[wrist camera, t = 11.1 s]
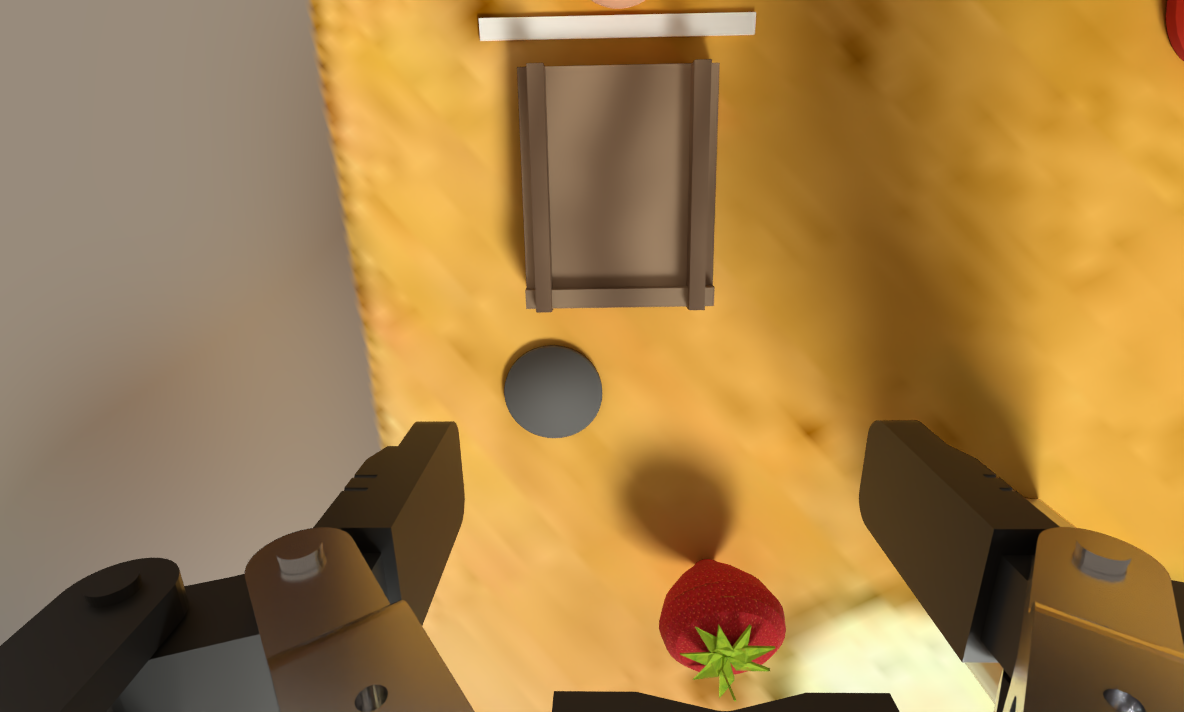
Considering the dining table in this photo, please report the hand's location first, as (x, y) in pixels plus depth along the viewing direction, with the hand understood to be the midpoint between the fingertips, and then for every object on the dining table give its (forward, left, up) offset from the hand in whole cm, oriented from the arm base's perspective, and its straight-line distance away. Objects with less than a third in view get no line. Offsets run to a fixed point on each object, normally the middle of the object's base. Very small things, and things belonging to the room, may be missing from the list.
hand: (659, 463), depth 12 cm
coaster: (+4, +8, -24) cm, 25 cm away
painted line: (0, -12, -24) cm, 27 cm away
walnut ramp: (0, -4, -24) cm, 24 cm away
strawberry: (-6, +21, -24) cm, 32 cm away
